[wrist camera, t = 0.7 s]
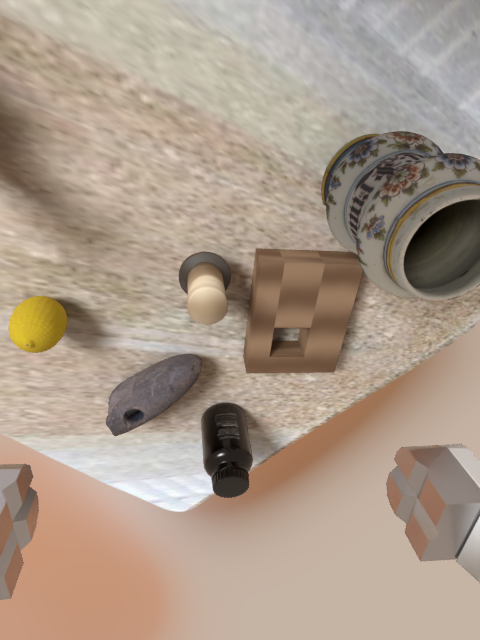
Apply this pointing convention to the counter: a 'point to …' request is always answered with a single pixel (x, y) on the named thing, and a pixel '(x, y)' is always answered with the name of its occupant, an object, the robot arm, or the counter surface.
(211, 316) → the maple peg
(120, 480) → the counter surface
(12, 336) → the lemon
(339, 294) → the walnut board
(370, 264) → the apothecary jar
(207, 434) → the supplement bottle
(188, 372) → the perforated stone tool
